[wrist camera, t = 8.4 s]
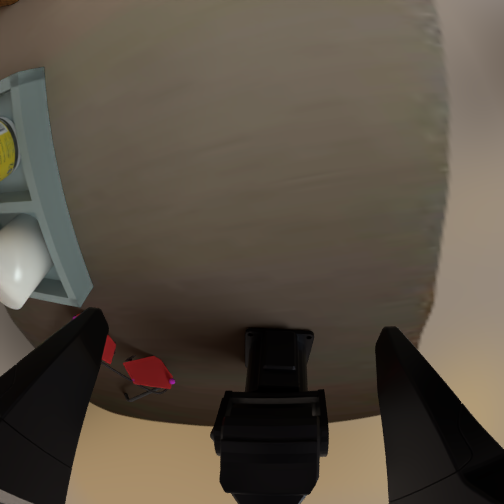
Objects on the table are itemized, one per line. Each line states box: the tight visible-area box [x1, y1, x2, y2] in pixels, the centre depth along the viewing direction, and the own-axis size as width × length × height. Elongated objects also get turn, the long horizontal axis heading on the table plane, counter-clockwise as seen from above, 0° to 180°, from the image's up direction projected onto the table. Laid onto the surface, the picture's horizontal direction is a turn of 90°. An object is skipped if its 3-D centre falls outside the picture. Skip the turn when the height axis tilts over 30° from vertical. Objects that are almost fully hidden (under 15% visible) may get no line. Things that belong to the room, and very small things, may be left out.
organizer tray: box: [0, 67, 93, 307], centre depth 20 cm, size 21×11×3 cm, turn 179°
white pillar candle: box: [0, 214, 54, 309], centre depth 21 cm, size 6×6×6 cm
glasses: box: [73, 314, 175, 402], centre depth 33 cm, size 14×16×5 cm
